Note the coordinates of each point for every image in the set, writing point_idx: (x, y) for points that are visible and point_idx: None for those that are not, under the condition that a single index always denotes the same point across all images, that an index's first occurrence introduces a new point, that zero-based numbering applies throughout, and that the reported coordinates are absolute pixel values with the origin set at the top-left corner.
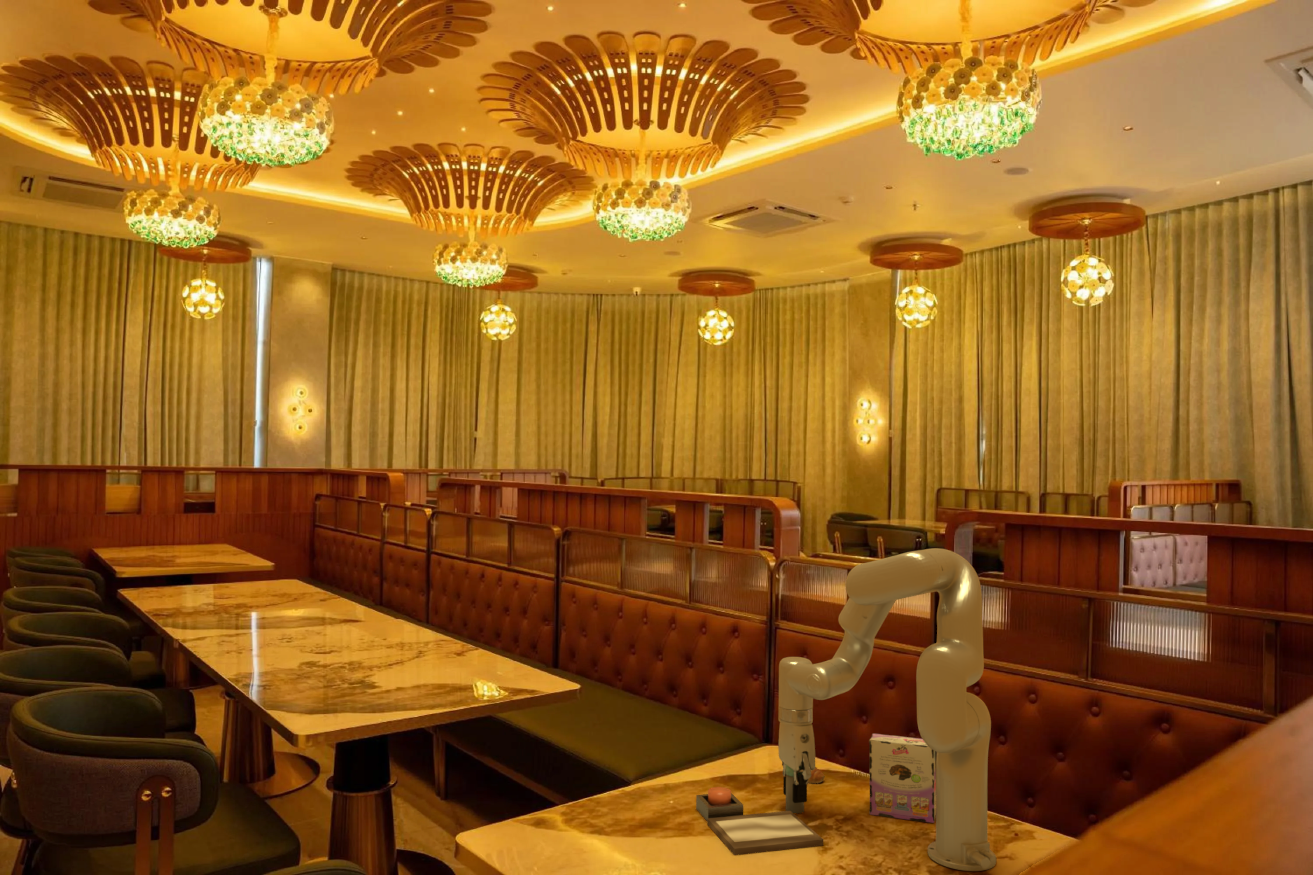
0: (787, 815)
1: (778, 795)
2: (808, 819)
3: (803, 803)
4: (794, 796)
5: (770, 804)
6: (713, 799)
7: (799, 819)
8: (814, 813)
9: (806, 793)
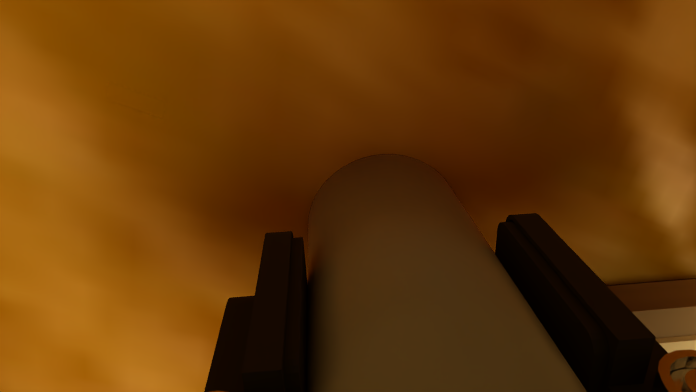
0: None
1: (11, 245)
2: (594, 189)
3: (461, 205)
4: None
5: None
6: None
7: (690, 312)
8: (495, 90)
9: (571, 256)
